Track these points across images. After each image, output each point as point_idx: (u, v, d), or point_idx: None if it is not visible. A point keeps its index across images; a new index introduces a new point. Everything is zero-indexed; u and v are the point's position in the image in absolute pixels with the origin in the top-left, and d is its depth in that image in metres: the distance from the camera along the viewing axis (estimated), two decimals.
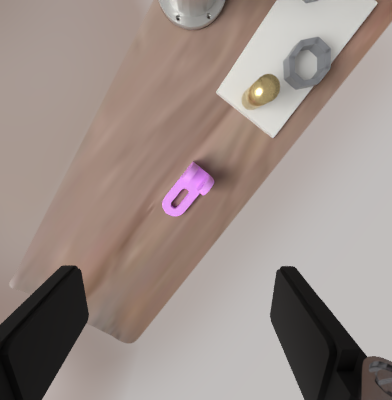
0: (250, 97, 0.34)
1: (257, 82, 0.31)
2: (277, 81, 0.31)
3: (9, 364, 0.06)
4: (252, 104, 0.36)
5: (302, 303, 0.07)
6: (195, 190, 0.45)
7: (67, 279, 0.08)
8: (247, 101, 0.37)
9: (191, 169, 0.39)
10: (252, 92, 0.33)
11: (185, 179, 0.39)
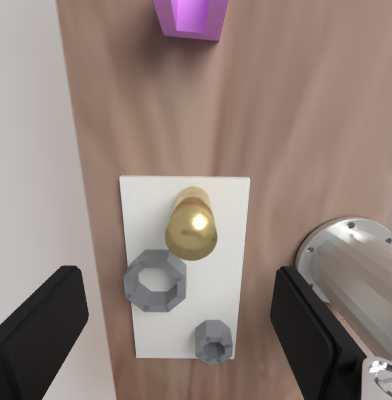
0: (203, 205, 0.17)
1: (214, 234, 0.15)
2: (182, 256, 0.16)
3: (9, 364, 0.06)
4: (191, 197, 0.19)
5: (302, 303, 0.07)
6: None
7: (67, 279, 0.08)
8: (200, 195, 0.20)
9: None
10: (209, 215, 0.16)
11: None
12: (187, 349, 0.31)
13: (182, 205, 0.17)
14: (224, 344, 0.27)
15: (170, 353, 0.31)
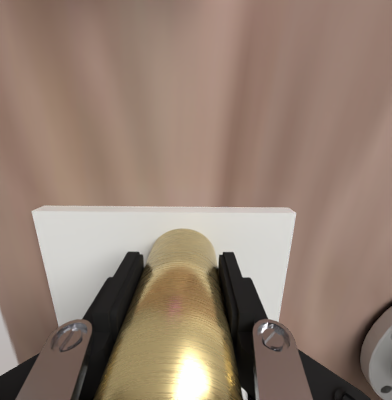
0: (204, 328, 0.06)
1: None
2: None
3: (115, 326, 0.07)
4: (172, 287, 0.07)
5: (226, 280, 0.08)
6: None
7: (137, 262, 0.09)
8: (196, 267, 0.08)
9: None
10: (228, 399, 0.05)
11: None
12: None
13: (140, 339, 0.05)
14: None
15: None
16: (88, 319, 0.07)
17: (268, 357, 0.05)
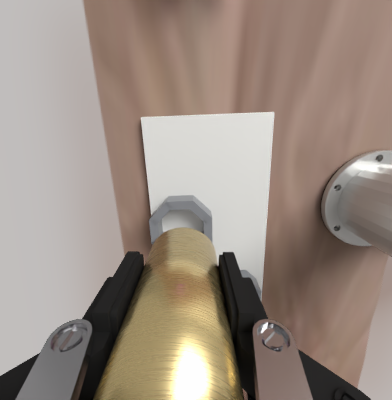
0: (205, 326, 0.06)
1: None
2: None
3: (115, 326, 0.07)
4: (172, 286, 0.07)
5: (226, 280, 0.08)
6: None
7: (137, 262, 0.09)
8: (197, 266, 0.08)
9: None
10: (229, 397, 0.04)
11: None
12: None
13: (140, 337, 0.05)
14: None
15: None
16: (88, 319, 0.07)
17: (268, 357, 0.05)
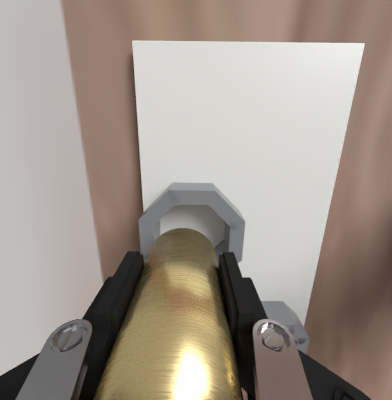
0: (204, 327, 0.06)
1: None
2: None
3: (115, 326, 0.07)
4: (172, 287, 0.07)
5: (226, 280, 0.08)
6: None
7: (137, 262, 0.09)
8: (196, 266, 0.08)
9: None
10: (228, 398, 0.04)
11: None
12: None
13: (139, 338, 0.05)
14: (296, 337, 0.17)
15: None
16: (88, 319, 0.07)
17: (268, 357, 0.05)
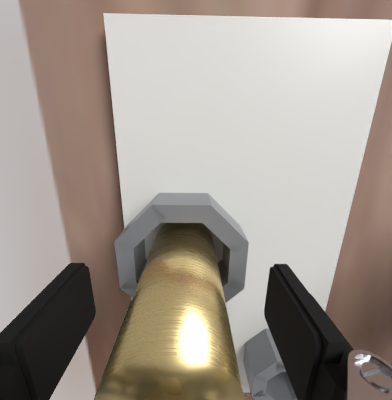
0: (203, 286, 0.07)
1: None
2: None
3: (23, 357, 0.06)
4: (176, 259, 0.09)
5: (293, 299, 0.07)
6: None
7: (76, 276, 0.08)
8: (196, 246, 0.10)
9: None
10: (220, 330, 0.06)
11: None
12: None
13: (153, 292, 0.07)
14: None
15: None
16: None
17: (366, 391, 0.05)
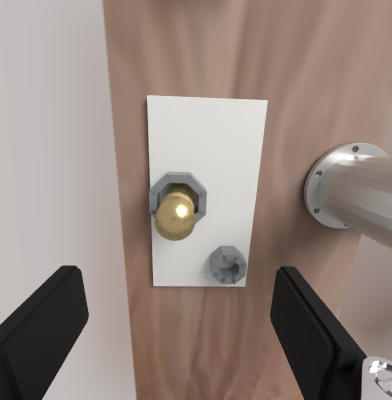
0: (185, 198, 0.22)
1: (192, 220, 0.20)
2: (168, 237, 0.20)
3: (9, 364, 0.06)
4: (176, 192, 0.23)
5: (302, 303, 0.07)
6: None
7: (67, 279, 0.08)
8: (184, 191, 0.25)
9: None
10: (189, 205, 0.21)
11: None
12: (202, 277, 0.33)
13: (168, 198, 0.22)
14: (239, 263, 0.29)
15: (185, 281, 0.33)
16: None
17: (381, 399, 0.05)
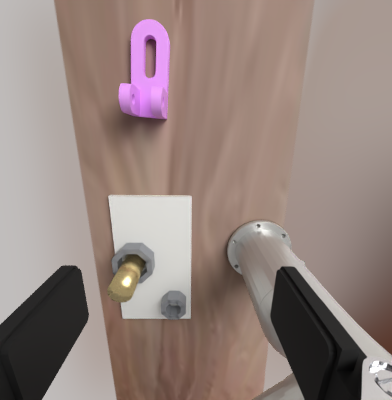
0: (130, 271, 0.34)
1: (131, 290, 0.32)
2: (117, 300, 0.32)
3: (9, 364, 0.06)
4: (126, 265, 0.35)
5: (302, 303, 0.07)
6: (138, 84, 0.31)
7: (67, 279, 0.08)
8: (134, 261, 0.36)
9: (158, 107, 0.27)
10: (131, 279, 0.32)
11: (157, 89, 0.27)
12: (158, 312, 0.44)
13: (119, 272, 0.33)
14: (180, 305, 0.41)
15: (146, 315, 0.44)
16: None
17: (381, 399, 0.05)
